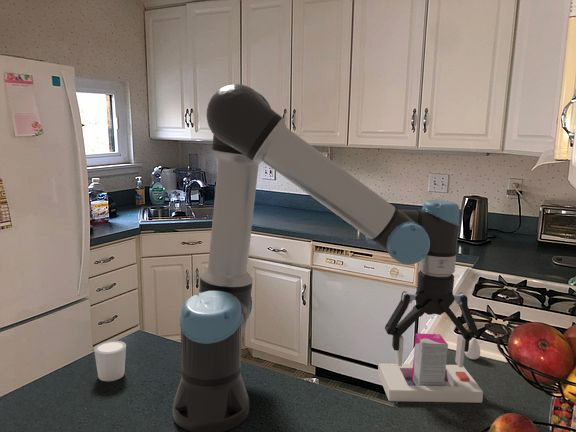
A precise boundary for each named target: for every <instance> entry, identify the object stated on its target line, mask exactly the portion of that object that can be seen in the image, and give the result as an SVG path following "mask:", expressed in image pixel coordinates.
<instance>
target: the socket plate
mask: <svg viewBox="0 0 576 432" xmlns="http://www.w3.org/2000/svg"><path fill="white" fill-rule="evenodd" d="M377 368H378V369H377V374H378V377H379V379H380V383H381V385H382V387H383V389H384V392H385V395H386V397H387V399H388V402H417V403H418V402H419V403H421V402H423V403H425V402H427V403H431V402H433V403H477V404H478V403H483V398H484V391H483V389H482V387H480V385H479V384H478V383H477V381H475V379H474V378H473V376H472V375H471V374H470V373H469V372H468V370H467V369H466V367H465V366H464V365H463V367H459V366H458V365H457V364H446V370H445V380H444V386H415V385H414V384H413V382H412V370H413V363H402V366H398V364H397V363H378V366H377ZM399 398H400V399H399Z"/></svg>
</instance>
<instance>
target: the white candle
mask: <svg viewBox="0 0 576 432" xmlns="http://www.w3.org/2000/svg"><path fill="white" fill-rule="evenodd" d="M93 351H94V359H95V365H96V369H97V370H96V371H97V377H98V379H99V380H100V381H102V382H114V381H117V380H119V379H122V378H123V377H124V376H125V371H126V370H125V367H126V353H127V344H126V342H123V341H121V340H108V341H104V342H101V343H98V344H97V345H95V346H94V349H93Z"/></svg>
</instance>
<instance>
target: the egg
mask: <svg viewBox="0 0 576 432" xmlns="http://www.w3.org/2000/svg"><path fill="white" fill-rule="evenodd" d="M464 356H465V357H467V358H468V359H470V360H477V359H479V358H480V356H481V348H480V344H479V342H478V340H477V339H476V338H475V337H472V339H471V340H470V341H469V350H468V352H464Z"/></svg>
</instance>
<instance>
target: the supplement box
mask: <svg viewBox="0 0 576 432" xmlns="http://www.w3.org/2000/svg"><path fill="white" fill-rule="evenodd" d="M414 339H415V341H414V349H413V360H412V364H413V370H412V382H413V384H414V385H415V386H444V380H445V370H446V365H447V361H448V360H447V359H448V357H447V356H448V348H449V344H448V343H447V341H446V340H445V339H444V338H443V336H442V335H441V334H439V333H421V332H420V333H419V332H417V333H415V338H414Z"/></svg>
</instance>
